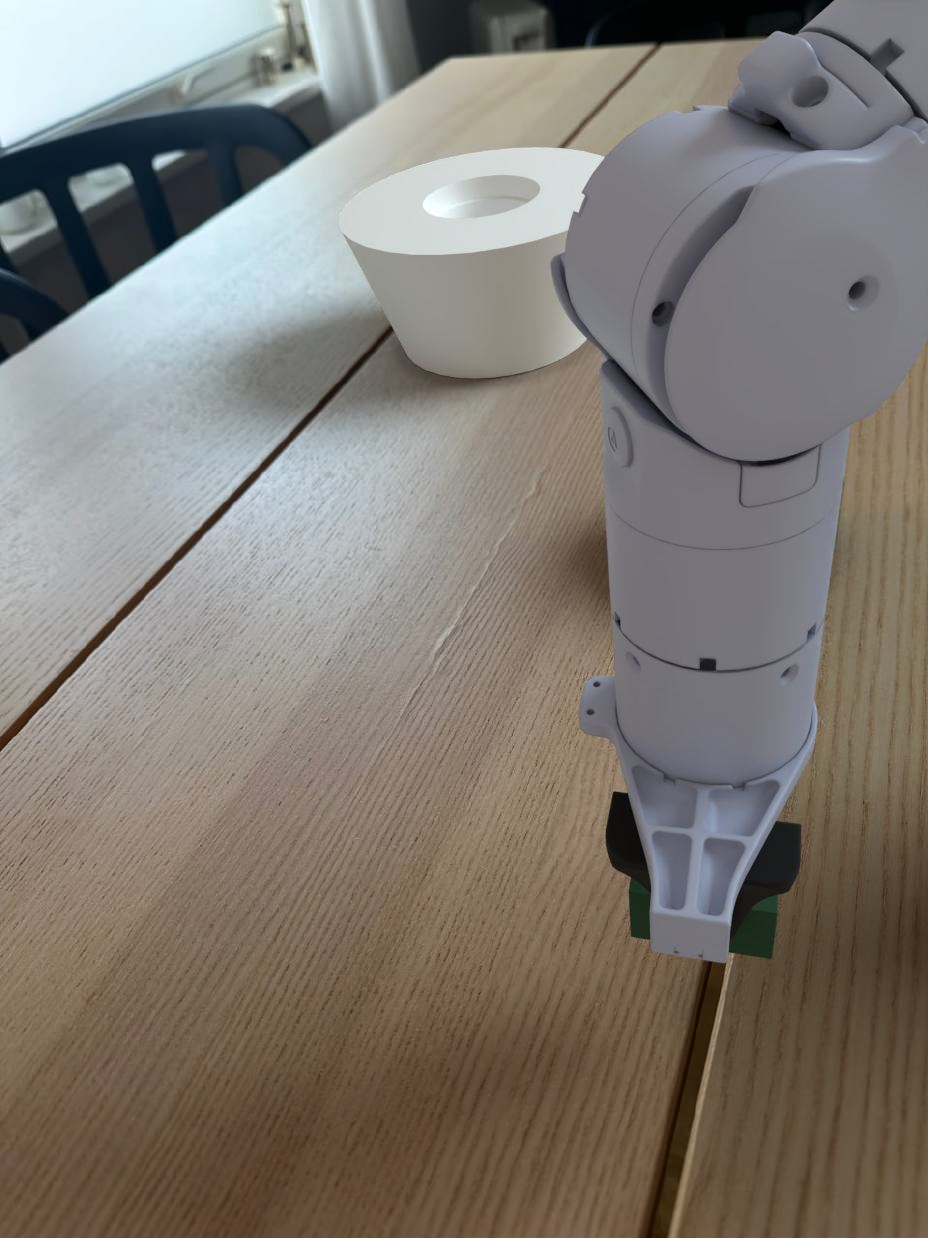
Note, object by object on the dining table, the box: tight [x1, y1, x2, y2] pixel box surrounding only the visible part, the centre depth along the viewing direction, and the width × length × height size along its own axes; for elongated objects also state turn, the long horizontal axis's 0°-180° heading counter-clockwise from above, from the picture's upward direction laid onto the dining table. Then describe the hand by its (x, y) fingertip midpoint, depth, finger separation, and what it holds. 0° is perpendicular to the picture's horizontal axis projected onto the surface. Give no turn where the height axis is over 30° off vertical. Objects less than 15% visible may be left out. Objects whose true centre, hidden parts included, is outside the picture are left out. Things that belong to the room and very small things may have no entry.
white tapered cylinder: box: [337, 146, 606, 379], centre depth 85 cm, size 24×24×12 cm
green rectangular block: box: [628, 877, 779, 960], centre depth 36 cm, size 5×4×3 cm
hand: (705, 881), depth 36 cm, fingers closed on green rectangular block, 3 cm apart
